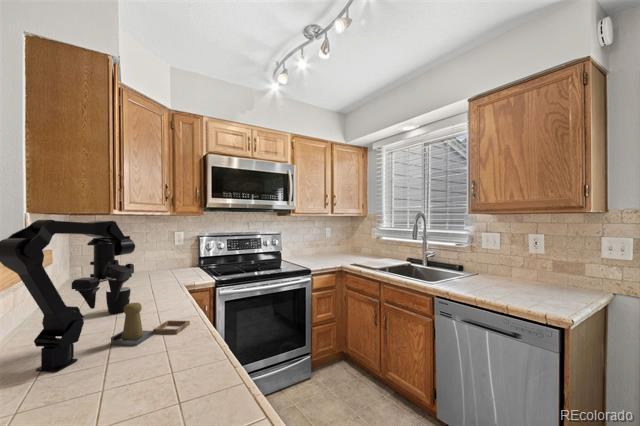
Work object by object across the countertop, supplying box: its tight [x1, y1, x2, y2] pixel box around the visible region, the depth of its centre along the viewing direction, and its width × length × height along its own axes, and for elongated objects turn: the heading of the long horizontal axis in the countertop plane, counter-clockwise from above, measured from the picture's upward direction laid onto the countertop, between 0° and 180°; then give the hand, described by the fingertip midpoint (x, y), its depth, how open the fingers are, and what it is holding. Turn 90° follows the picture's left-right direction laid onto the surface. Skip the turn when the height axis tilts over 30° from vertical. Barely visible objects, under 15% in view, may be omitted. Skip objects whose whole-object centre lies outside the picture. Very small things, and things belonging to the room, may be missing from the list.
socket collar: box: [152, 320, 191, 335], centre depth 108 cm, size 9×9×2 cm
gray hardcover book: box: [110, 330, 154, 346], centre depth 99 cm, size 8×9×2 cm
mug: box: [105, 286, 131, 315], centre depth 130 cm, size 12×9×10 cm
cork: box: [122, 302, 144, 339], centre depth 99 cm, size 6×6×11 cm
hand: (104, 304), depth 97 cm, fingers open, 9 cm apart
